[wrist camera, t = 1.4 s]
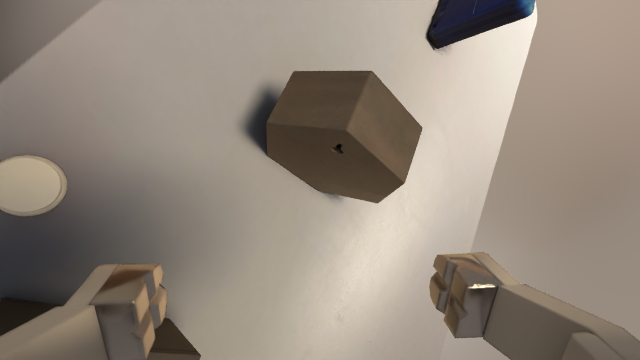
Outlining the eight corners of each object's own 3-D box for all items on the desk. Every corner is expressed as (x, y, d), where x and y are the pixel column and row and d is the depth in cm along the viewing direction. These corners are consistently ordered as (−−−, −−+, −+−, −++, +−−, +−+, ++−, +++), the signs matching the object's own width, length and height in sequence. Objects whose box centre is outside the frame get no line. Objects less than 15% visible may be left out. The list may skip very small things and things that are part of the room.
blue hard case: (440, -7, 75) (539, -59, 60) (450, 11, 78) (548, -34, 62) (423, 36, 70) (526, -8, 55) (435, 54, 73) (536, 16, 57)
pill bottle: (56, 155, 31) (54, 144, 24) (74, 202, 31) (77, 204, 25) (-12, 168, 28) (-35, 160, 21) (9, 220, 29) (-6, 228, 22)
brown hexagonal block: (381, 169, 53) (446, 103, 33) (366, 211, 50) (427, 166, 31) (287, 128, 53) (297, 37, 33) (267, 168, 50) (265, 95, 31)
